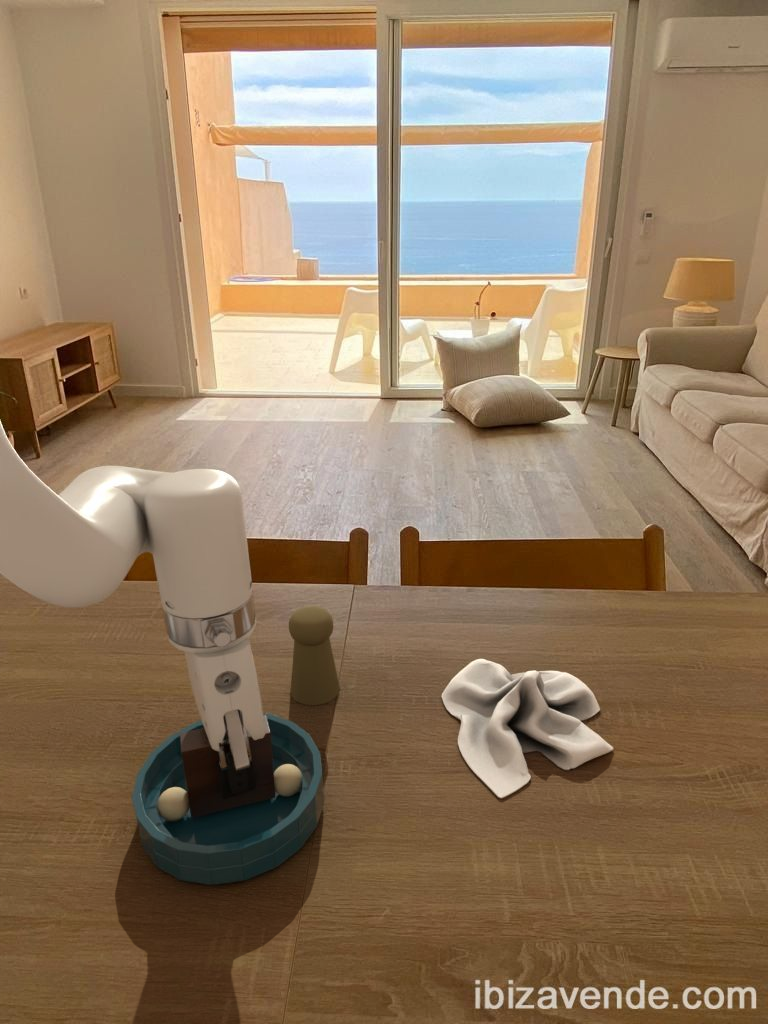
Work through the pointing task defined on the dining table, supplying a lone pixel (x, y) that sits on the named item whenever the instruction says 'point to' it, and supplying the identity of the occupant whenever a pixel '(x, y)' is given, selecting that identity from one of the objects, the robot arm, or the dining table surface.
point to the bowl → (229, 814)
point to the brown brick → (205, 776)
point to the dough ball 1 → (173, 804)
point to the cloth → (520, 721)
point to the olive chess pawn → (313, 656)
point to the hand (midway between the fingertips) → (233, 774)
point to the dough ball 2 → (287, 780)
